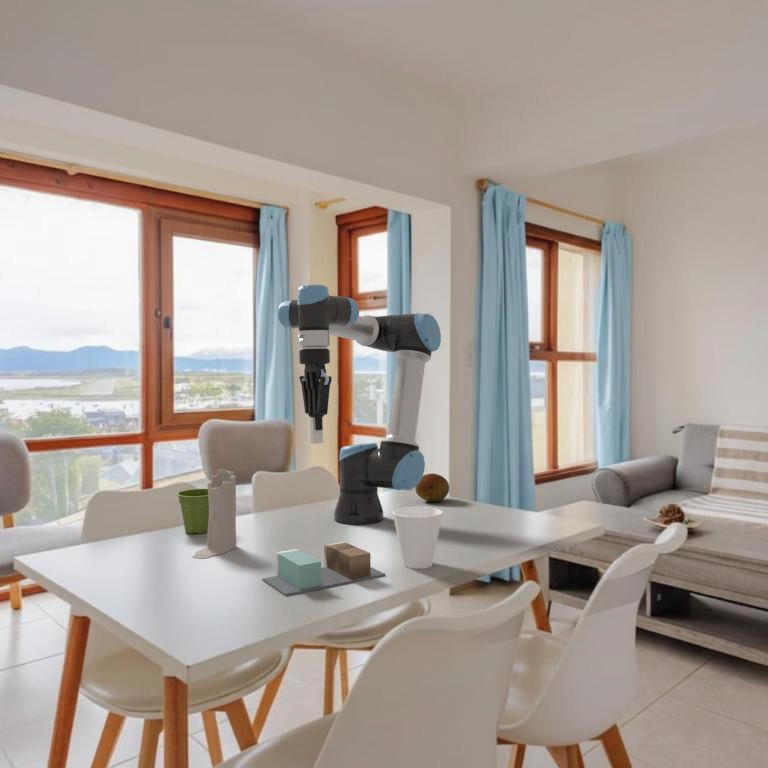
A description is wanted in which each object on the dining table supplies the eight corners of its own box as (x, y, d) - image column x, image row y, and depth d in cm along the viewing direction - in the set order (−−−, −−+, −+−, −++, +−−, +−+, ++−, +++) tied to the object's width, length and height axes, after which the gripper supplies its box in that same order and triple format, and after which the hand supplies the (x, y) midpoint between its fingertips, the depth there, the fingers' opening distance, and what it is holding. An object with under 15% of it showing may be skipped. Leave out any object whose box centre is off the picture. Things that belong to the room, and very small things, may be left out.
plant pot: (167, 534, 183) (167, 494, 183) (194, 525, 194) (194, 487, 194) (202, 538, 179) (202, 497, 179) (228, 528, 190) (227, 489, 190)
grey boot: (185, 557, 160) (184, 475, 160) (218, 543, 173) (217, 468, 173) (210, 559, 158) (209, 477, 158) (241, 545, 171) (241, 469, 171)
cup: (428, 575, 145) (428, 519, 145) (382, 566, 151) (382, 513, 151) (451, 562, 155) (451, 509, 155) (408, 554, 161) (408, 504, 161)
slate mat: (262, 580, 142) (262, 578, 142) (357, 562, 155) (357, 560, 155) (285, 596, 132) (285, 594, 132) (385, 575, 145) (385, 573, 145)
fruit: (413, 504, 224) (413, 475, 224) (418, 497, 237) (418, 470, 236) (448, 505, 222) (447, 476, 222) (450, 498, 235) (450, 470, 235)
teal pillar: (275, 552, 144) (299, 565, 134) (296, 548, 147) (321, 561, 137) (275, 574, 144) (299, 589, 134) (296, 571, 147) (321, 585, 137)
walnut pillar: (324, 544, 151) (350, 556, 141) (343, 541, 153) (370, 553, 143) (324, 566, 151) (350, 579, 141) (343, 562, 154) (370, 575, 144)
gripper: (289, 348, 165) (291, 441, 166) (312, 347, 155) (315, 447, 156) (315, 348, 170) (318, 439, 171) (340, 347, 159) (342, 444, 160)
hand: (316, 442), depth 163 cm, fingers closed
